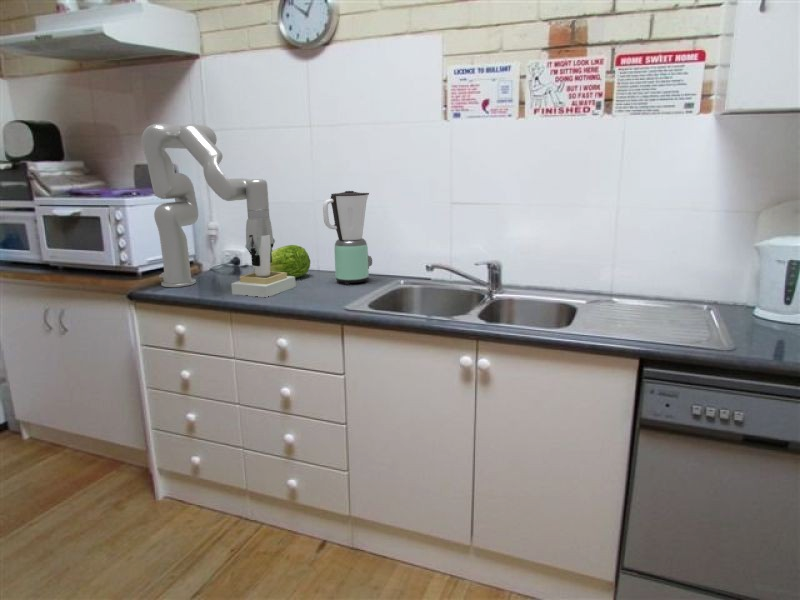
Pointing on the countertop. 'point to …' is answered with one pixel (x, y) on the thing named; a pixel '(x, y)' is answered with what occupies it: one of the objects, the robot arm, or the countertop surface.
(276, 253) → the lettuce
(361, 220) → the green blender
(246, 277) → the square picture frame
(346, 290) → the countertop surface
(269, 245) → the drinking glass
